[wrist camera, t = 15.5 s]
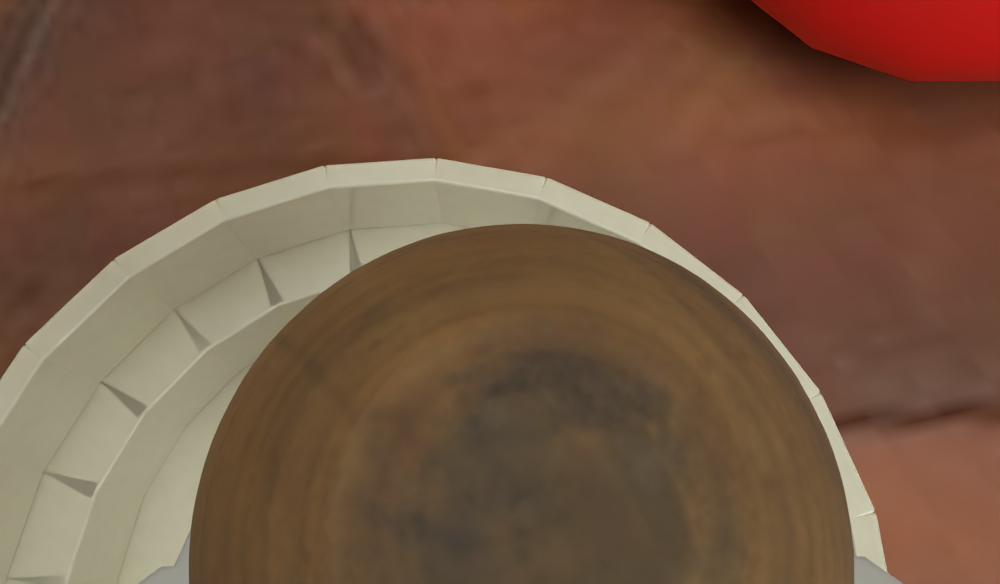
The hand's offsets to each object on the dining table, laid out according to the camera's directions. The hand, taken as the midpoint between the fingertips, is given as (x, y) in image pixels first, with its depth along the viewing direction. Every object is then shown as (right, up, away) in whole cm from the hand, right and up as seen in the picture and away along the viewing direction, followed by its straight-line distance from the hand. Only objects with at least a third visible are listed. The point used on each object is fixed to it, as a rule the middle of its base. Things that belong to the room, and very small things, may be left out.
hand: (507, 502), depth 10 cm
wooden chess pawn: (0, -4, +10) cm, 11 cm away
